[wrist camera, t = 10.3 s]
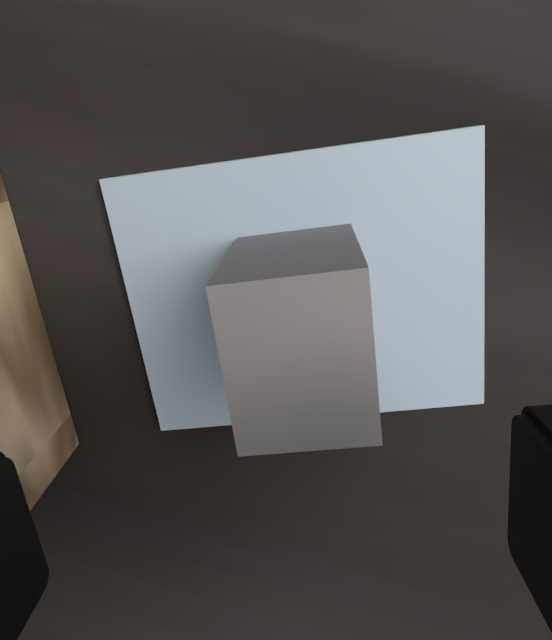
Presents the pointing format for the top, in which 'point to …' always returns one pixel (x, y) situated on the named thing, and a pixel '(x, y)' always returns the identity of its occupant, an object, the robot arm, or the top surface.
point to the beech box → (28, 374)
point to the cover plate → (314, 189)
